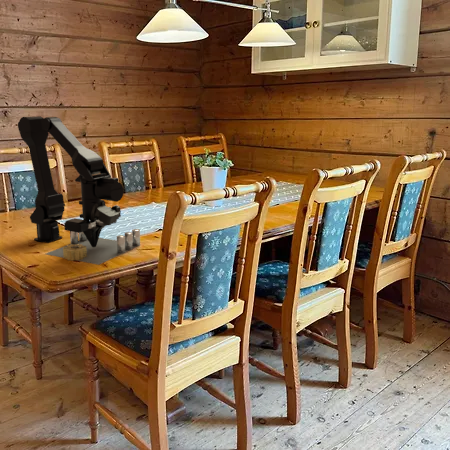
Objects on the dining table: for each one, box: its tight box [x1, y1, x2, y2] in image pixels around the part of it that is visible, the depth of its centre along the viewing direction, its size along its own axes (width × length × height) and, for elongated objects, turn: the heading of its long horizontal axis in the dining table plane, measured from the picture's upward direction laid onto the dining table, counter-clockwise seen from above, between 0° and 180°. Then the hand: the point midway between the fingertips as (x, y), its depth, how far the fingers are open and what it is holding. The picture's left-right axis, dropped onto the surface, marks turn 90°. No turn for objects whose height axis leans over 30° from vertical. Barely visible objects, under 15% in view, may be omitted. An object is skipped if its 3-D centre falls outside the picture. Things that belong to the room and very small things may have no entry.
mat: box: [45, 237, 138, 266], centre depth 152 cm, size 20×21×1 cm
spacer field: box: [69, 228, 141, 254], centre depth 156 cm, size 20×10×5 cm, turn 66°
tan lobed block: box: [62, 244, 87, 262], centre depth 144 cm, size 6×6×3 cm
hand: (94, 246), depth 152 cm, fingers closed
